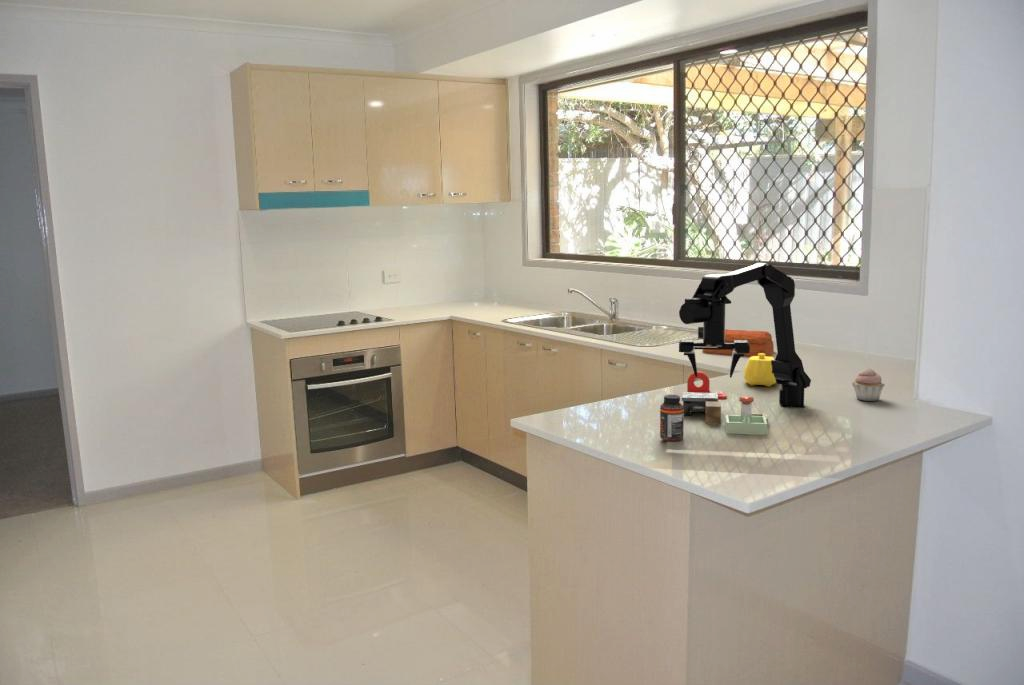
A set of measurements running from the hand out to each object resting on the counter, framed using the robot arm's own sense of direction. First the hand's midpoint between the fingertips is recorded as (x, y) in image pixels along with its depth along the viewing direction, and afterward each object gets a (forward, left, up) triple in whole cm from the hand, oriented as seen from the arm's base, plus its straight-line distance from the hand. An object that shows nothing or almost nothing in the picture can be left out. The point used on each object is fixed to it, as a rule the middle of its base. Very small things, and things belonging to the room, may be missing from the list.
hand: (713, 377), depth 224 cm
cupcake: (-46, -33, -13) cm, 59 cm away
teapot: (-16, -50, -13) cm, 54 cm away
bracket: (+1, -30, -13) cm, 32 cm away
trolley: (+4, -8, -12) cm, 15 cm away
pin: (-9, +9, -12) cm, 17 cm away
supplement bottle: (+11, +20, -13) cm, 26 cm away
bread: (-12, -106, -13) cm, 108 cm away
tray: (-8, +9, -12) cm, 17 cm away
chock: (0, 0, -13) cm, 13 cm away
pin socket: (-11, +1, -12) cm, 17 cm away
